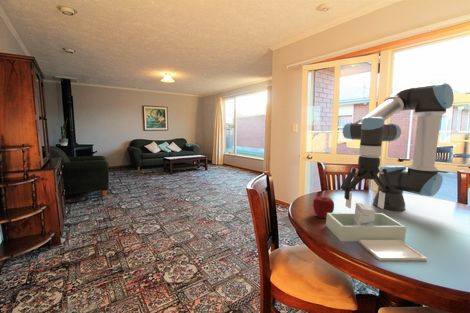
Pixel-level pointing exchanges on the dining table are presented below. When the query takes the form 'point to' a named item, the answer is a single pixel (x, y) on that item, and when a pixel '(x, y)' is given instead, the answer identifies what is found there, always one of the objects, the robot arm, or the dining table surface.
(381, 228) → the box
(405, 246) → the tray
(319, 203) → the apple
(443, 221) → the dining table surface
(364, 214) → the ink box
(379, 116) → the robot arm
